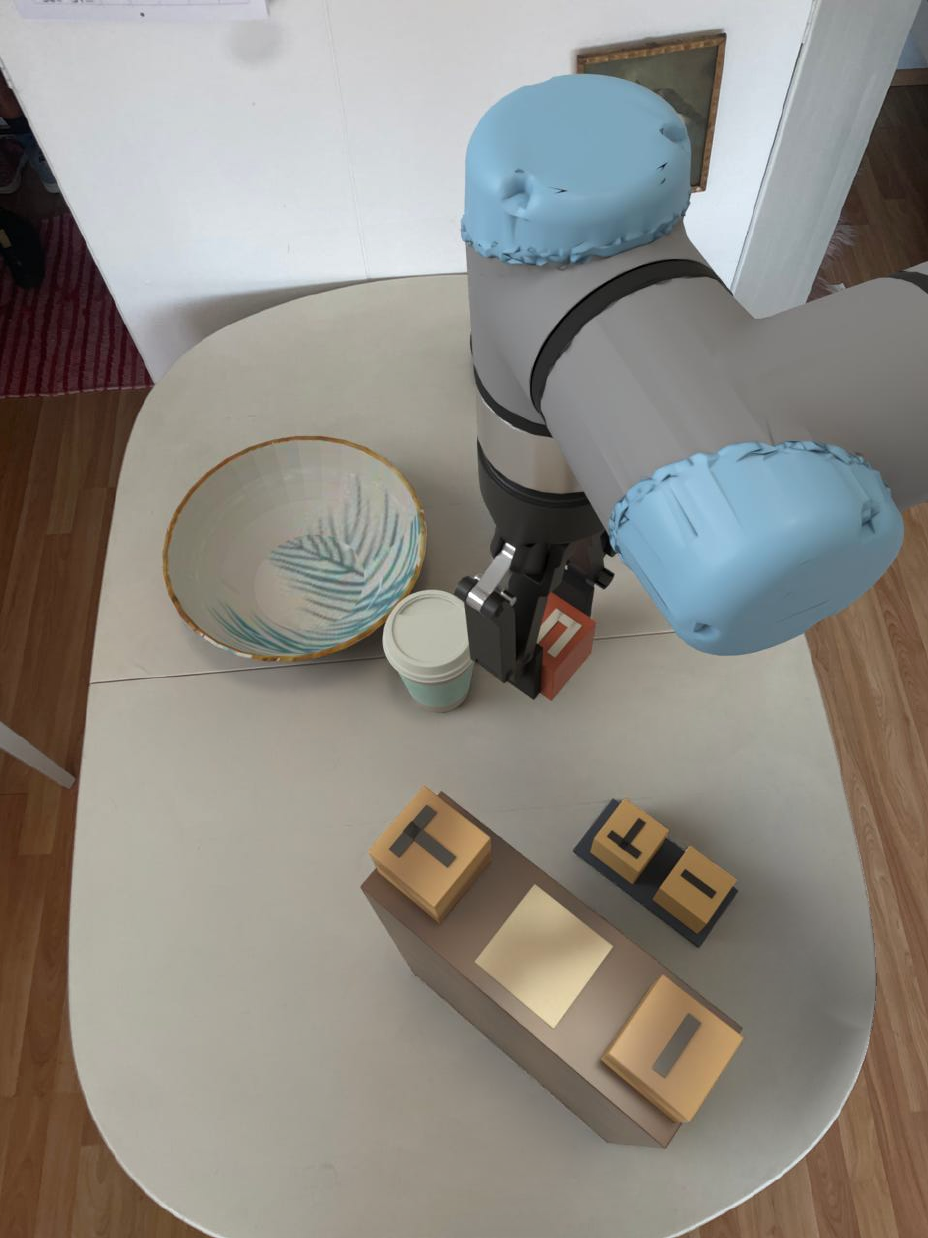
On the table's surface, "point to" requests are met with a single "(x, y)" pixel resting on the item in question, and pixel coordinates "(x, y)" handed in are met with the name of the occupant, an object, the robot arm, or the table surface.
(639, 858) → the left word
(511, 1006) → the word stand
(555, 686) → the block
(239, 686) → the table surface
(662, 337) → the robot arm
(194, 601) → the bowl
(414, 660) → the coffee cup
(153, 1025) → the table surface
